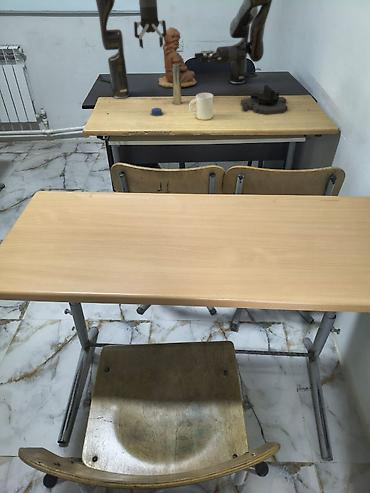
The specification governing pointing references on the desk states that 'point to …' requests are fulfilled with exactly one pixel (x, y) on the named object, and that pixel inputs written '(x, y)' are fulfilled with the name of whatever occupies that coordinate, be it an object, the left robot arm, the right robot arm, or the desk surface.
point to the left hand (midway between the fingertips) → (151, 47)
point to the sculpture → (174, 61)
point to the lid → (156, 111)
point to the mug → (203, 106)
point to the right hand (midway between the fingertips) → (197, 57)
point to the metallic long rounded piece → (176, 83)
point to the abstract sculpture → (265, 102)
